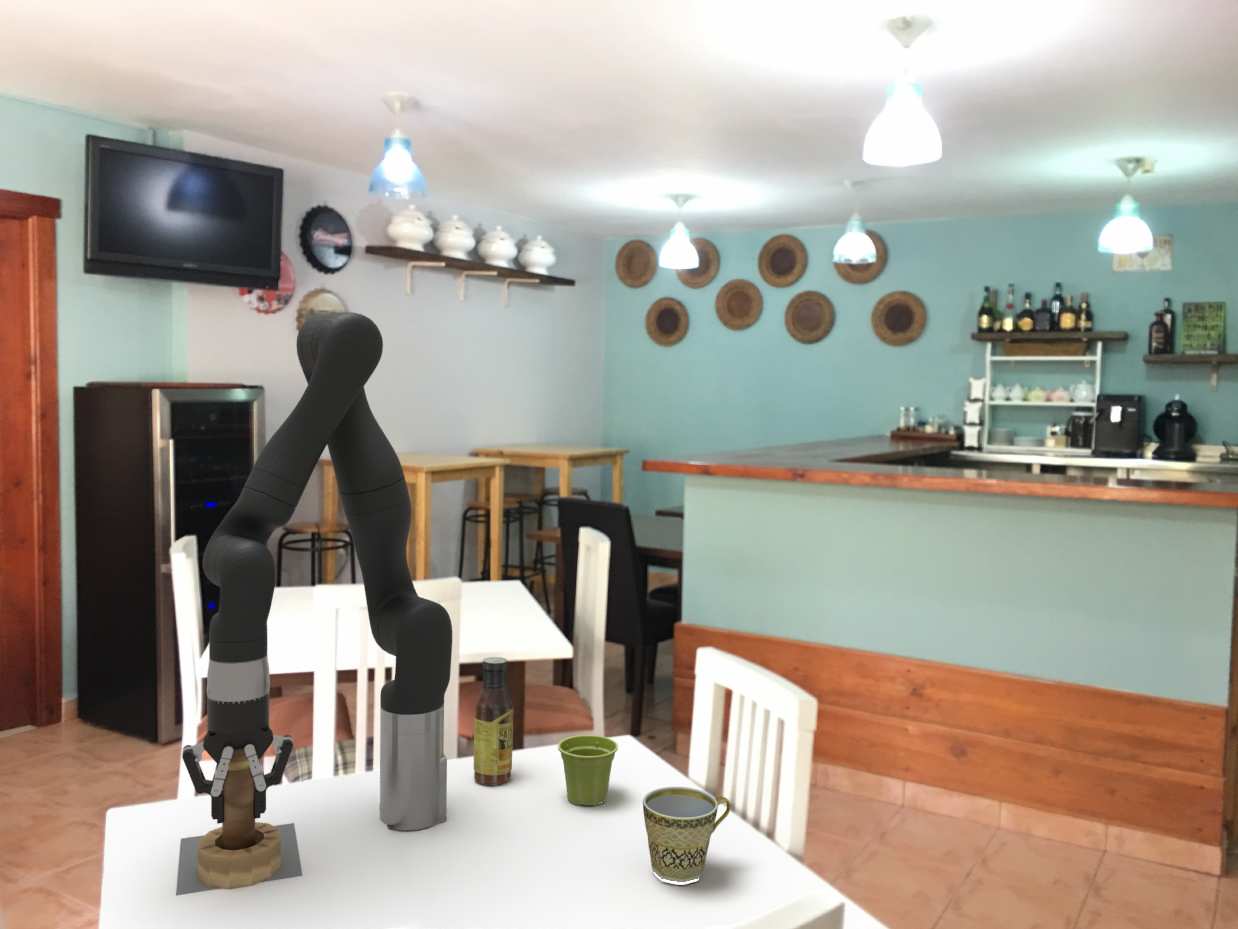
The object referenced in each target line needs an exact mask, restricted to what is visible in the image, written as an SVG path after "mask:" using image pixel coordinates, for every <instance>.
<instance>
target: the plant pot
mask: <svg viewBox="0 0 1238 929" xmlns="http://www.w3.org/2000/svg"><path fill="white" fill-rule="evenodd" d="M618 749H619V744H618V743H617V742H616V741H615V740H613V739H612V738H609V737H606V736H603V735H593V734H580V735H573V736H569V737H565V738H564V739H561V740H560V741H559V742H558V744H557V750H558V751H559V752H560V756H561V757H560V758H561V759H562V763H563V769H564V777H565V778H564V779H565V786H566V787H565V788H566V795H567V800H568V801H569V802H570V801H571V804H573V803H575V804H574V805H576V804H579V805H585V806H587V805H594V806H597V805H596V804H598V805H600V804H599V803H601V802H603V803H605V801H606V799H607V796H608V792H609V786H610V785H609V784H610V778H611V771H612V765H613V761H614V759H615V755H616V753H617V751H618ZM601 804H602V803H601ZM579 805H578V806H579Z"/></svg>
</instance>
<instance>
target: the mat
mask: <svg viewBox="0 0 1238 929" xmlns="http://www.w3.org/2000/svg"><path fill="white" fill-rule="evenodd" d="M273 826H274V827H276V828H278V829H280V837H281V867H280V868H279V869H278V870H277V871H276V872H275V873H274V874H273V875H272V876H271V877H270V878H268V879H265V880H263V881H261V882H258V883H264V882H271V881H277V880H278V881H279V880H285V879H291V878H297V877H302V876H303V870H302V865H301V864H302V863H301V859H300V853H299V852H300V851H299V847H298V846H299V845H298V841H297V839H298V838H297V834H296V828H295V823H294V822H293V823H292V822H291V823H284V824H277V825H273ZM204 835H205V834H204ZM204 835H198V836H197V835H196V836H190V837H183V838H182V837H181V838H180V844H179V858H178V867H177V869H178V870H177V879H176V888H175V889H176V891H175V892H176V893H175V896H181V895H187V894H188V895H189V894H195V893H201V892H207V891H213V890H219V889H222V888H217V887H209V886H208V885H206V884H204V883H203V882H201V881H200V880H198V840H200V839H201V838H202V837H203V836H204Z"/></svg>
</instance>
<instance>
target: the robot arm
mask: <svg viewBox="0 0 1238 929" xmlns="http://www.w3.org/2000/svg"><path fill="white" fill-rule="evenodd" d="M295 347H296V354H297V358H298V362H299V365H300V367H301V370H302V372H303V375H304V377H305V381H306V382H307V386H306V388H305V390H304V392H303V394H301V397H300V399H299V400H298V402H297V404H296V406H295V407H294V408H293V410H292V411H291V412H290V413H289V415H288V416H287V417H286V419H284V421H283V423H282V424H281V425H280V426H279V428H278V429H277V430H276V431H275V432H274V433H273V435H272V436H271V437H270V439H269V440H268V441H267V442H266V444H265V446H264V447H263V448H262V450H261V451H260V453H259V456H258V457H257V459H256V461H255V463H254V465H253V467H252V468H251V471H250V473H249V476H248V477H247V479H246V481H245V484H244V486H243V488H242V489H241V492H240V495H239V497H238V499H237V501H236V502H235V504H234V505H232V507H231V508H230V509H229V510H228V512H227V513H226V515H225V516H224V518H223V519H222V521H221V522H220V524H219V525H218V526H217V528H216V529H215V531H214V532H213V534H212V535H211V537H210V539H209V541H208V543H207V544H206V548H205V550H204V552H203V557H202V570H203V573H204V575H205V576H206V578H207V579H208V580H209V582H211V583H212V584H213V585H216V587H219V590H220V591H219V605H218V612H215V614H214V615H212V618H211V619H210V621H209V622H210V623H209V630H208V631H209V633H208V635H209V636H208V637H209V638H208V639H209V640H208V643H209V644H208V645H209V647H208V648H209V654H208V655H209V656H208V657H209V658H208V667H207V673H206V676H207V677H206V682H207V683H206V684H207V685H206V697H207V699H206V704H207V705H206V710H207V711H206V722H207V723H206V726H207V728H206V729H207V730H206V734H205V736H204V738H203V741H200V742H198V743H196V744H193V745H190V744H187V745H185V746H184V747H183V748H182V754H181V755H182V756H181V758H182V761H183V762H184V765H185V768H186V770H187V773H188V775H189V778H190V781H191V783H192V785H193V787H194V790H195V792H196V794H199V795H200V794H206V795H207V794H208V795H209V796H210V799H211V800H210V801H211V804H210V806H211V808H210V809H211V810H210V811H211V813H210V814H211V818H212V820H216V824H222V823H223V794H222V787H223V783H224V780H225V778H226V774H227V771H228V763H229V762H230V760H231V757H232V754H233V749H238V748H244V750H245V753H246V757H247V758H248V760H250V769H251V773H252V776H253V778H254V782H255V820H256V819H261V814H265V813H266V811H267V790H268V788H270V787H271V786H273V785H275V786H276V785H279V784H280V783H281V781H282V779H283V778H282V777H283V776H284V773H285V770H286V768H287V765H288V764H287V763H288V761H289V759H290V756H291V753H292V750H293V747H294V742H293V737H292V735H290V734H285V735H284V736H282V735H277V734H274V733H273V731H272V729H271V727H270V689H271V681H270V667H269V658H268V618H269V615H270V612H271V609H272V607H271V606H272V605H273V604H272V603H273V599H274V598H273V597H274V592H275V588H276V587H275V586H276V581H277V580H276V579H277V576H276V575H277V573H276V572H277V571H276V570H277V569H276V563H275V559H274V557H273V554H272V552H271V551H270V549H269V548H268V547H267V546H266V544H267V543H268V541H269V540H270V538H271V536H272V535H273V533H274V532H275V530H277V529H279V528H282V527H285V526H286V525H287V524H288V523H289V522H290V520H291V518H292V517H293V515H294V513H295V511H296V508H297V506H298V505H299V502H300V501H301V498H302V497H303V493H304V491H305V489H306V487H307V485H308V483H309V480H310V478H311V476H312V474H313V472H314V470H315V468H316V466H317V464H318V462H319V460H320V458H321V457H322V454H323V453H324V452H325V449H326V447H327V449H328V453H329V456H330V460H331V464H332V467H333V471H334V476H335V479H336V480H335V481H336V485H337V489H338V493H339V497H340V500H341V504H342V508H343V510H344V512H343V513H344V514H345V518H346V521H347V524H348V528H349V531H350V535H351V538H352V542H353V547H354V551H355V554H356V558H357V562H358V564H359V568H360V572H361V576H362V581H363V587H364V594H365V599H366V600H365V601H366V609H367V614H368V621H369V626H370V630H371V635H372V637H373V639H374V641H375V643H376V645H378V646H379V648H380V649H382V651H384V652H385V653H387V654H389V655H392V656H393V657H394V656H395V667H394V668H395V670H394V679H393V680H390V681H388V682H386V683H384V684H383V685H382V688H381V690H380V698H379V699H380V704H379V706H380V709H379V710H380V714H379V715H380V716H379V718H380V719H379V722H380V724H379V727H380V728H379V729H380V730H379V737H380V738H379V740H380V741H379V820H380V821H381V822H382V823H383V824H384V825H386V827H387V828H389V829H393V830H398V831H415V830H422V829H426V828H429V827H431V826H434V825H435V824H438V823H440V822H445V821H447V791H448V790H447V787H448V786H447V785H448V784H447V782H448V781H447V780H448V778H447V777H448V776H447V775H448V758H447V757H446V755H445V753H444V752H445V751H444V747H445V744H444V742H445V739H444V738H445V737H444V735H445V732H444V731H445V694H446V692H447V689H448V687H449V684H450V679H451V673H452V672H451V669H452V654H453V652H452V651H453V626H452V620H451V617H450V614H449V612H448V610H447V609H446V608H445V607H444V606H443V605H442V604H440V603H438V602H436V601H434V600H430V599H427V598H424V597H421V596H419V594H418V593H417V591H416V588H415V585H414V582H413V579H412V576H411V572H410V568H409V564H408V558H407V545H408V539H409V532H410V530H411V522H412V503H411V502H412V501H411V497H410V493H409V489H408V485H407V480H406V476H405V472H404V470H403V467H402V466H403V465H402V463H401V461H400V459H399V456H398V454H397V452H396V451H395V449H394V447H393V446H392V444H391V442H390V440H389V439H388V437H387V436H386V434H385V433H384V431H383V429H382V428H381V426H380V425H379V422H378V421H377V419H376V417H375V415H374V414H373V411H372V410H371V406H370V404H369V402H368V398H367V395H366V391H365V390H366V389H365V386H366V384H367V383H368V381H369V380H370V378H371V376H372V375H373V374H374V372H375V370H376V368H377V366H378V365H379V363H380V361H381V358H382V357H383V356H382V355H383V350H384V349H383V348H384V341H383V335H382V333H381V331H380V329H379V327H378V326H377V324H376V323H375V322H374V321H373V319H371V318H370V317H368V316H367V315H364V314H362V313H358V312H351V311H350V312H349V311H347V312H345V311H343V312H342V311H340V312H326V313H325V312H324V313H317V314H315V315H312V316H310V317H309V318H307V319H306V320H305V321H304V322H303V323H302V324H301V326H300V327H299V331H298V334H297V337H296V346H295ZM271 745H273V750H274V752H275V754H276V756H275V759H274V762H273V764H272V767H271V769H270V772H268V773H266V774H265V773H264V769H263V765H262V762H261V759H262V757H263V756H264V754H265V753H266V752H267V750H268V749H269V748H270V746H271ZM204 752H206V753H207V754H208V756H209V757H210V758H211V759H212V760H213V761H214V762H215V763H216V765H215V767H214V768H215V769H214V771H213V772H214V774H213V775H212V776H213V777H212V778H211V779H212V780H210V779H206V777H205V774H204V771H203V768H202V767H201V765H200V764H201V761H202V759H203V753H204ZM252 760H253V761H252ZM224 763H225V764H224Z"/></svg>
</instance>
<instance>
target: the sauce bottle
mask: <svg viewBox="0 0 1238 929" xmlns="http://www.w3.org/2000/svg"><path fill="white" fill-rule="evenodd" d="M508 662H509V661H508V659H507V658H505V657H501V656H492V657H485V658H483V659H482V669H483V681H482V686H483V687H482V689H481V691H480V692H479V693H478V695H477V698H476V701H475V715H474V727H473V730H474V733H473V734H474V735H473V736H474V737H473V738H474V739H473V770H474V774H473V775H474V776H473V777H474V780H475V781H476V782H477V783H478V784H480V785H481V784H482V785H487V786H494V785H501V784H504V783H507V782H509V781H510V779H511V774H512V773H511V772H512V770H513V738H514V735H513V734H514V705H513V703H512V699H511V696H510V693H509V690H508V686H507V685H508V683H507V669H508V668H509V665H508Z"/></svg>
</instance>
